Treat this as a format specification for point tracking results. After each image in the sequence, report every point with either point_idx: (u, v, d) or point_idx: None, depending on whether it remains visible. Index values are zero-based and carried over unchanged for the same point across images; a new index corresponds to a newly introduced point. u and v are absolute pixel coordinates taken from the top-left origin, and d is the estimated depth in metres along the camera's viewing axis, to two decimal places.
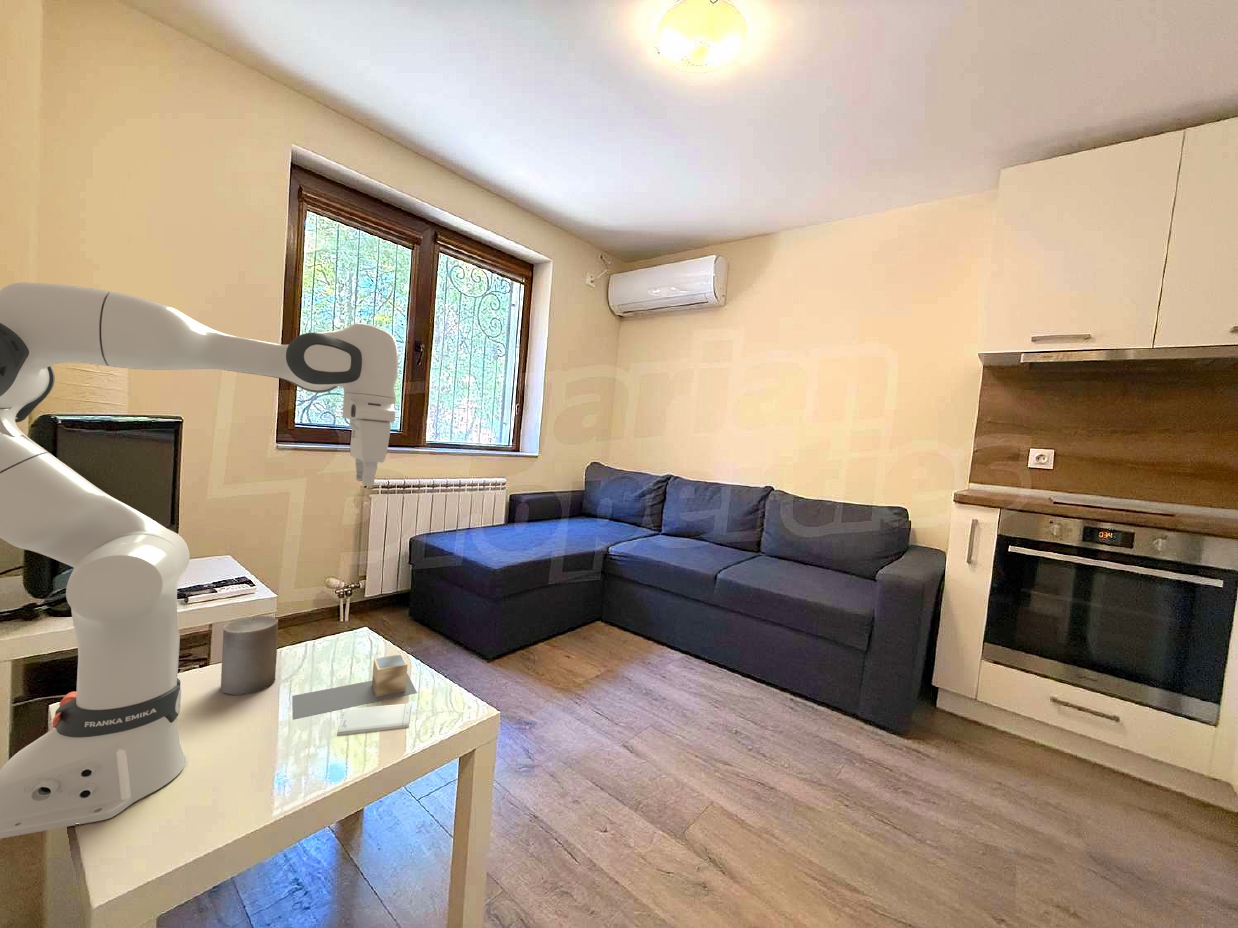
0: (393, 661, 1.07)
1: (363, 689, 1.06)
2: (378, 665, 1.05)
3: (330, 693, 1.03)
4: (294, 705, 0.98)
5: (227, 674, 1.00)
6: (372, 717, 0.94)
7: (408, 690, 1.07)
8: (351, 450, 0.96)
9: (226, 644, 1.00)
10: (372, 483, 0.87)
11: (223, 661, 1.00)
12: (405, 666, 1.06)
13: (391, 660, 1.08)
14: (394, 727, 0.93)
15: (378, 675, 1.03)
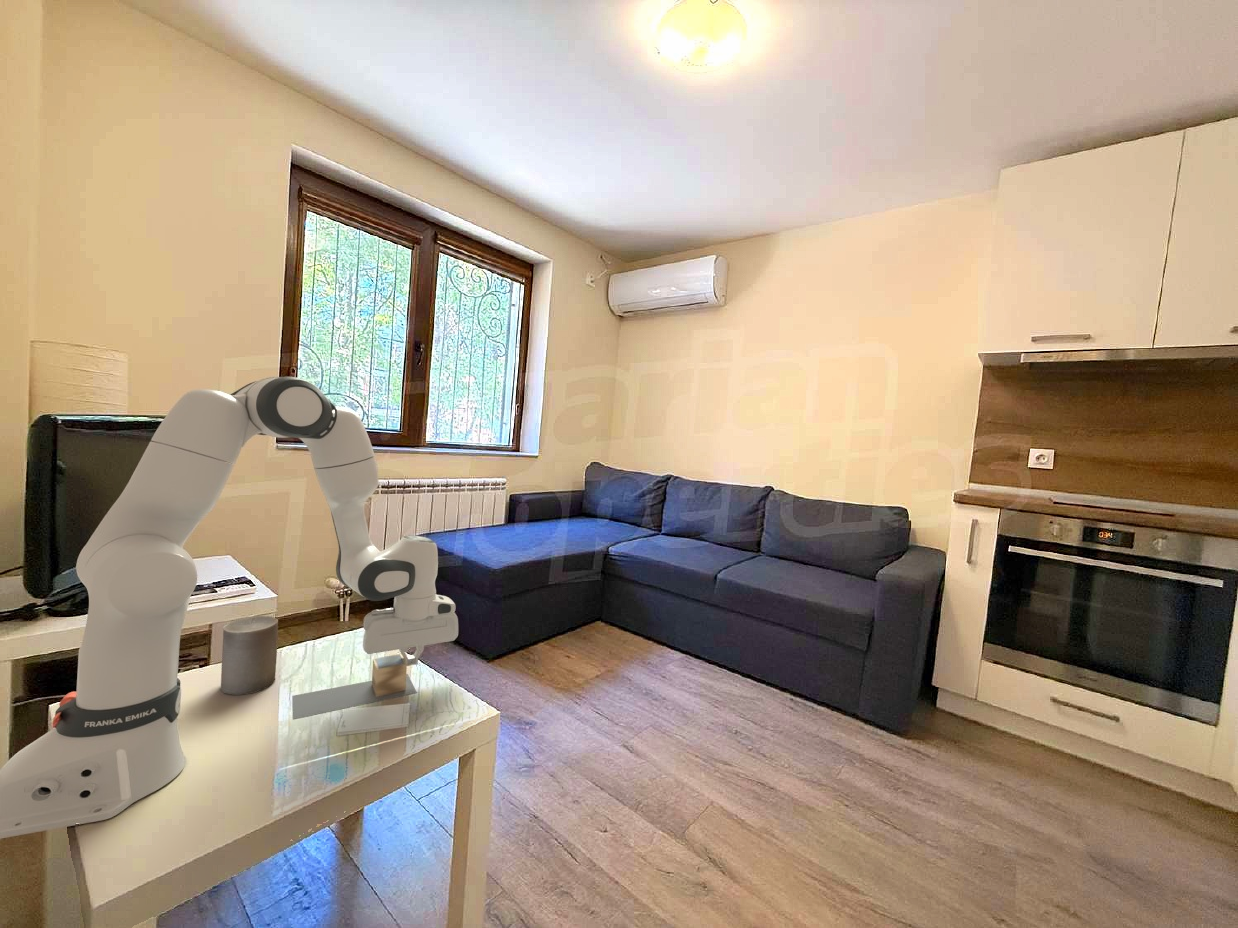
0: (392, 661, 1.07)
1: (363, 689, 1.06)
2: (377, 665, 1.05)
3: (330, 693, 1.03)
4: (294, 705, 0.98)
5: (227, 674, 1.00)
6: (371, 717, 0.94)
7: (408, 690, 1.07)
8: (379, 647, 1.04)
9: (226, 644, 1.00)
10: None
11: (223, 661, 1.00)
12: (404, 665, 1.06)
13: (390, 660, 1.08)
14: (393, 727, 0.93)
15: (377, 675, 1.03)
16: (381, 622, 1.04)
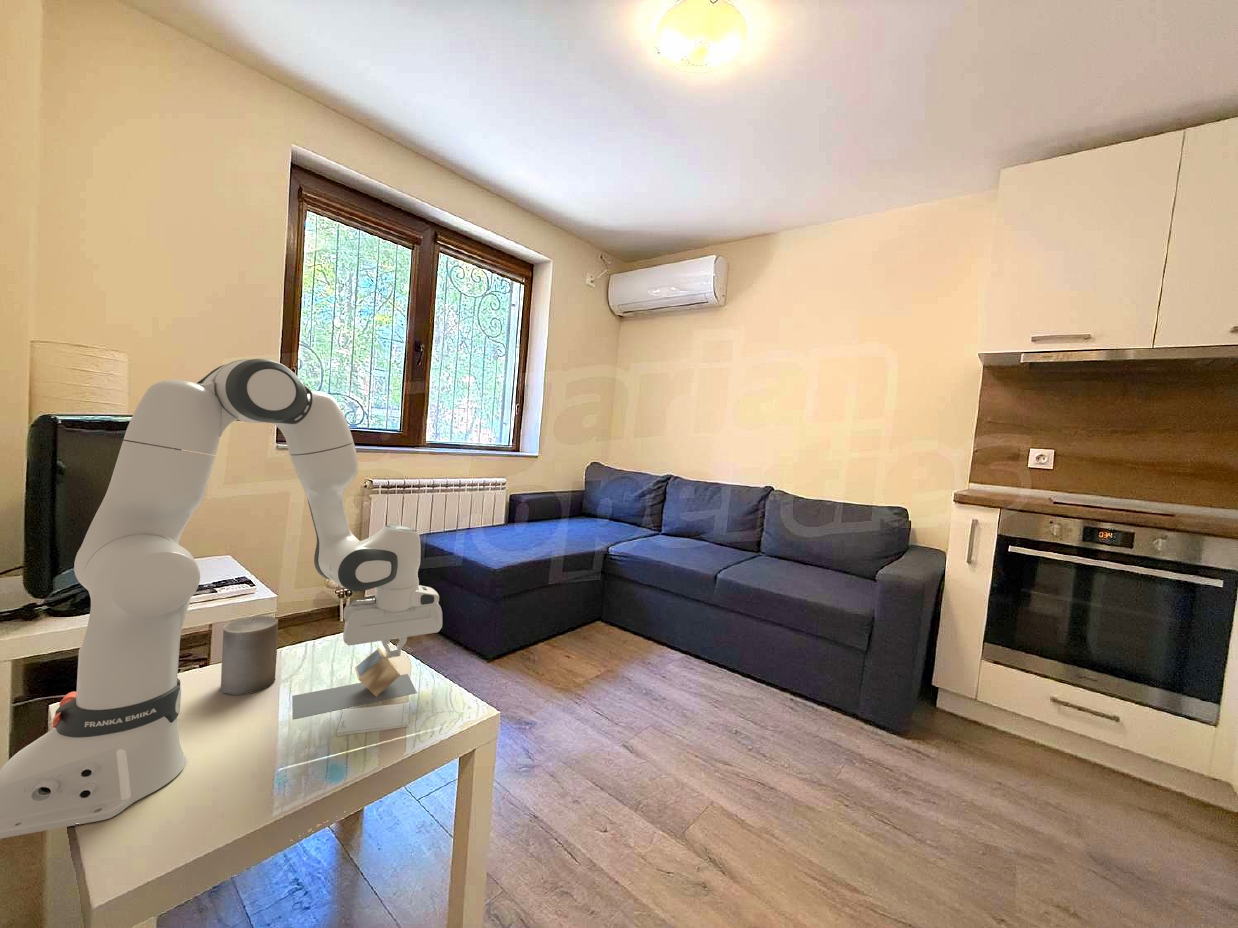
0: (370, 661, 1.05)
1: (363, 689, 1.06)
2: (358, 673, 1.03)
3: (330, 693, 1.03)
4: (294, 705, 0.98)
5: (227, 674, 1.00)
6: (371, 717, 0.94)
7: (408, 690, 1.07)
8: (360, 638, 1.02)
9: (226, 644, 1.00)
10: None
11: (223, 661, 1.00)
12: (383, 660, 1.04)
13: (369, 661, 1.05)
14: (393, 727, 0.93)
15: (363, 682, 1.02)
16: (361, 613, 1.01)
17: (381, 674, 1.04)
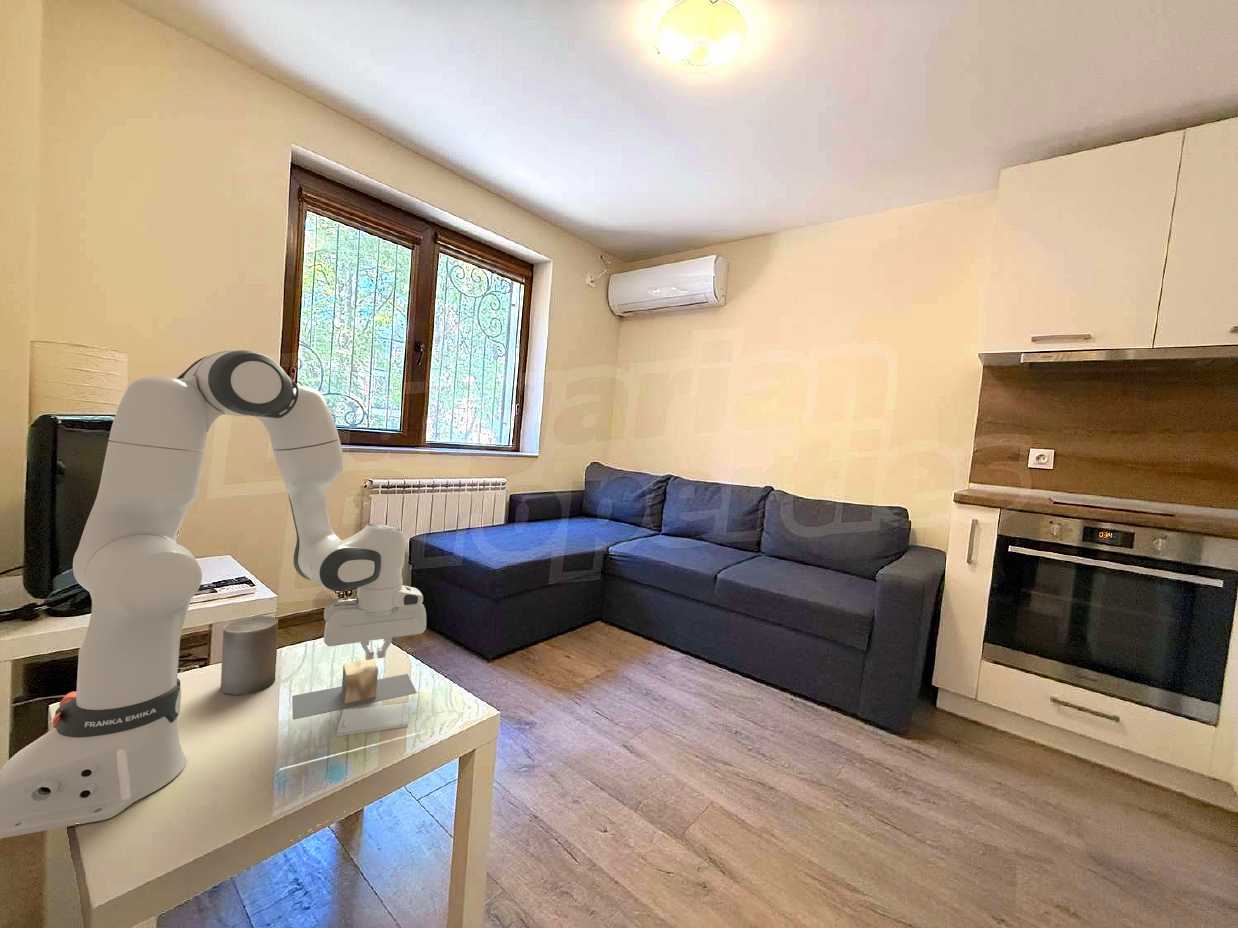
0: (344, 681, 1.02)
1: None
2: (344, 696, 1.02)
3: (330, 693, 1.03)
4: (294, 705, 0.98)
5: (227, 674, 1.00)
6: (370, 717, 0.94)
7: (408, 690, 1.07)
8: (341, 639, 1.00)
9: (226, 644, 1.00)
10: None
11: (223, 661, 1.00)
12: (348, 676, 1.00)
13: (343, 681, 1.02)
14: (393, 727, 0.93)
15: (351, 700, 1.01)
16: (342, 613, 0.99)
17: (360, 683, 1.01)
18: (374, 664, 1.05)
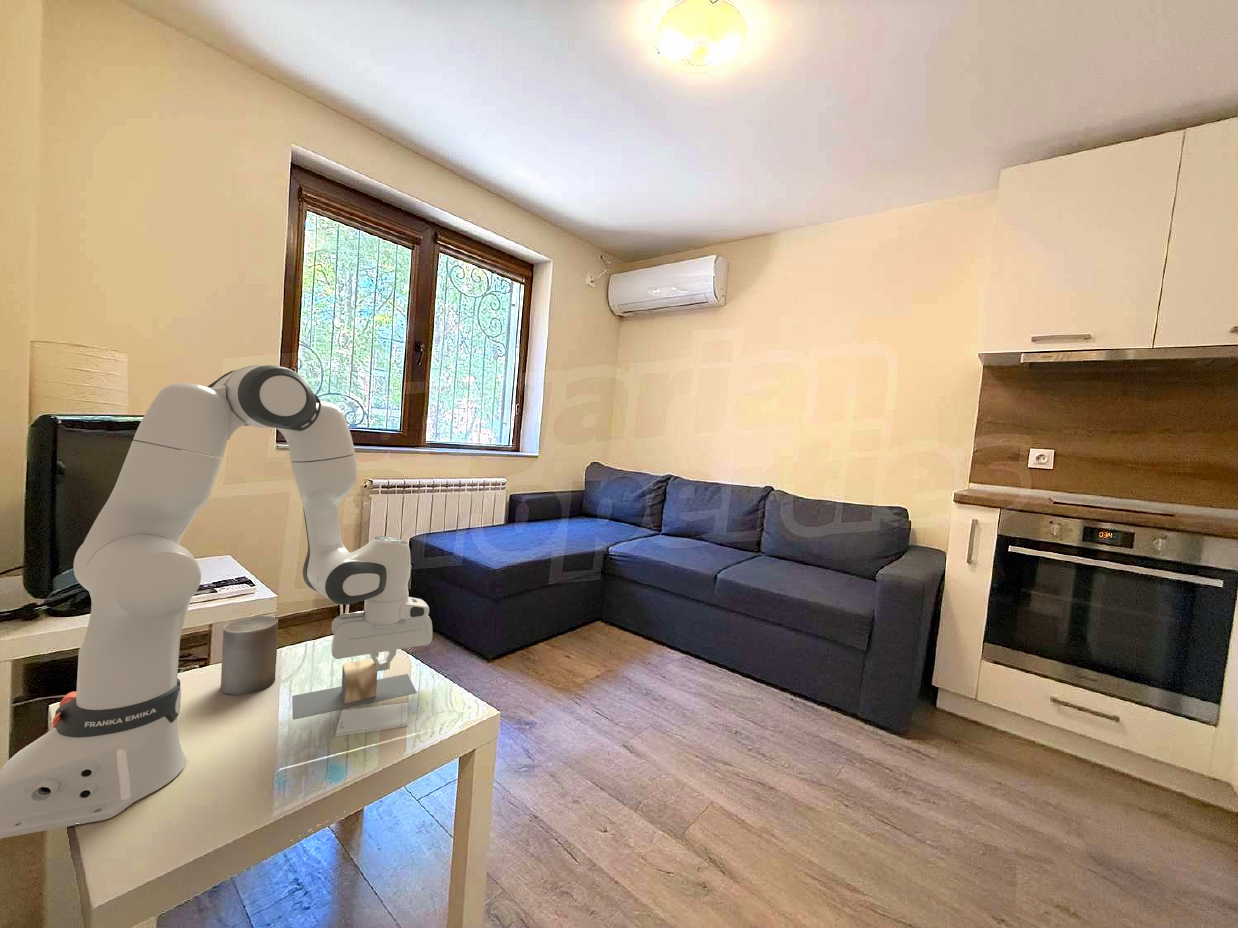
0: (343, 681, 1.02)
1: None
2: (344, 696, 1.02)
3: (330, 693, 1.03)
4: (294, 705, 0.98)
5: (227, 674, 1.00)
6: (369, 717, 0.94)
7: (408, 690, 1.07)
8: (348, 652, 1.01)
9: (226, 644, 1.00)
10: None
11: (223, 661, 1.00)
12: (347, 676, 1.00)
13: (343, 681, 1.02)
14: (393, 726, 0.93)
15: (352, 700, 1.01)
16: (350, 626, 1.00)
17: (360, 683, 1.01)
18: (373, 663, 1.05)
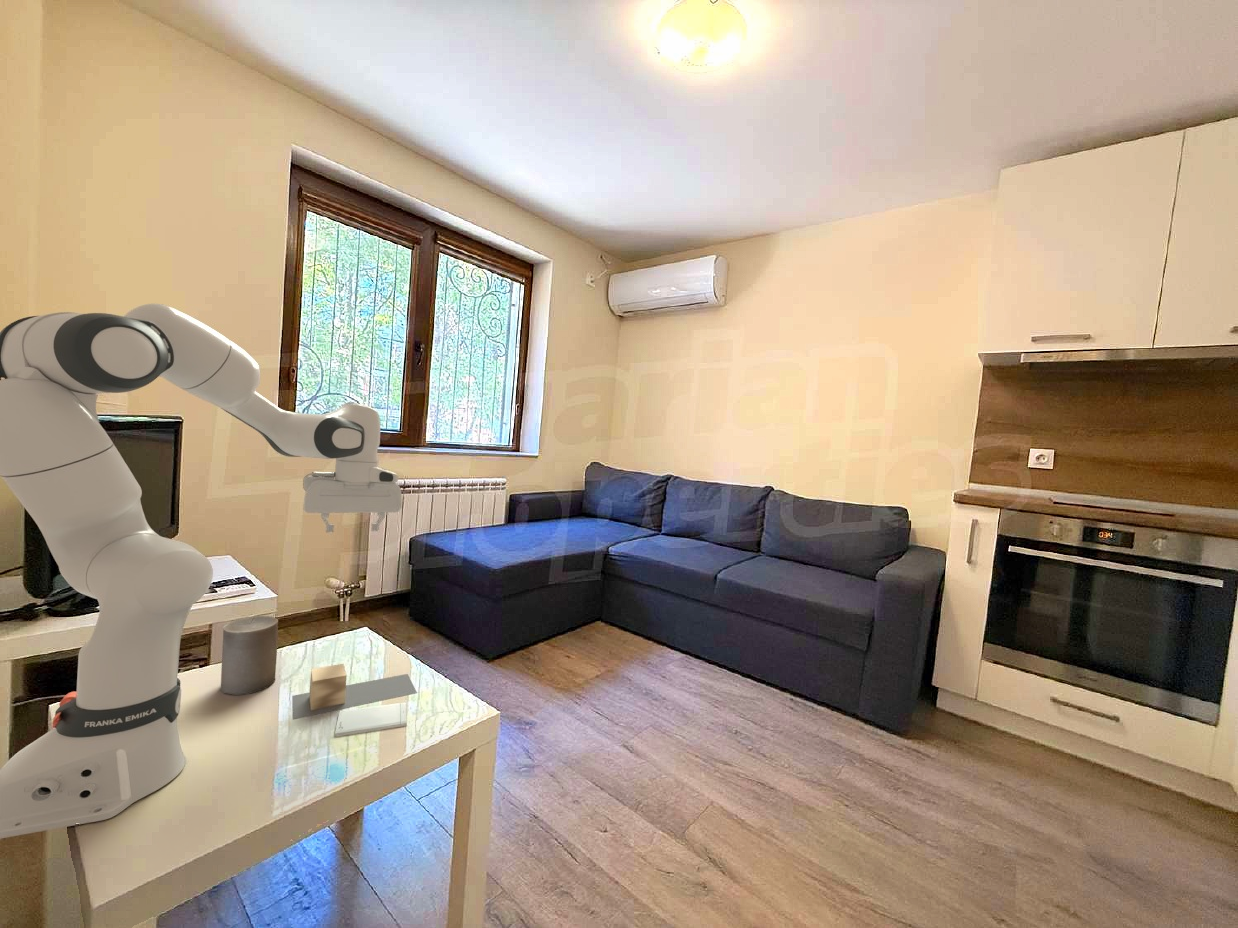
0: None
1: (363, 689, 1.06)
2: None
3: None
4: (294, 705, 0.98)
5: (227, 674, 1.00)
6: (368, 717, 0.94)
7: (408, 690, 1.07)
8: (319, 507, 1.06)
9: (226, 644, 1.00)
10: None
11: (223, 661, 1.00)
12: (313, 707, 0.96)
13: None
14: (392, 726, 0.93)
15: (344, 696, 1.00)
16: (320, 483, 1.06)
17: (325, 694, 0.98)
18: (312, 676, 0.98)
